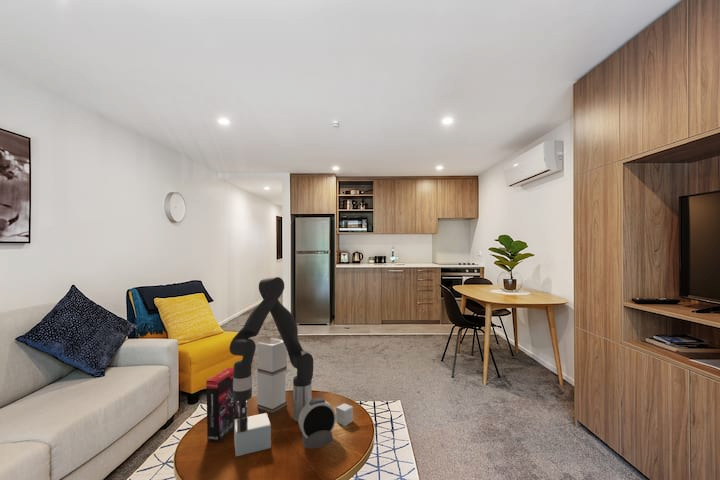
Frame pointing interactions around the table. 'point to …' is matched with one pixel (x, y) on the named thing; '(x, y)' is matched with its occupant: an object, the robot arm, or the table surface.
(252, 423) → the carton
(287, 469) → the table surface
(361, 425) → the table surface
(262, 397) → the grey square tower
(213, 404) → the graphics card box
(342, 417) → the product box
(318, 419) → the alarm clock
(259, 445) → the grey flat panel
